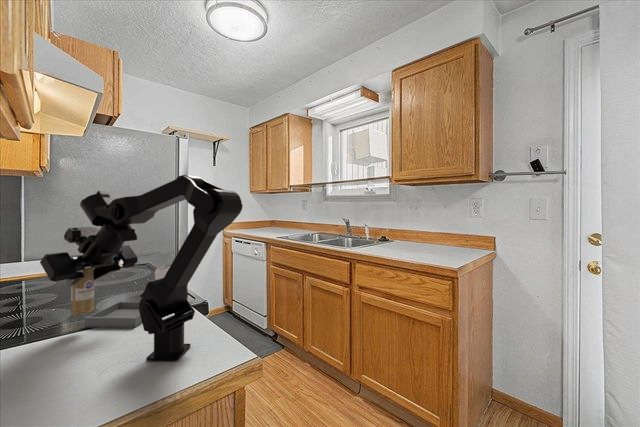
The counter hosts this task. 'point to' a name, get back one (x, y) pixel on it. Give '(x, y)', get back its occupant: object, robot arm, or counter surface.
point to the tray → (116, 316)
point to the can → (161, 271)
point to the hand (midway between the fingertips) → (79, 282)
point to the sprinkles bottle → (83, 293)
